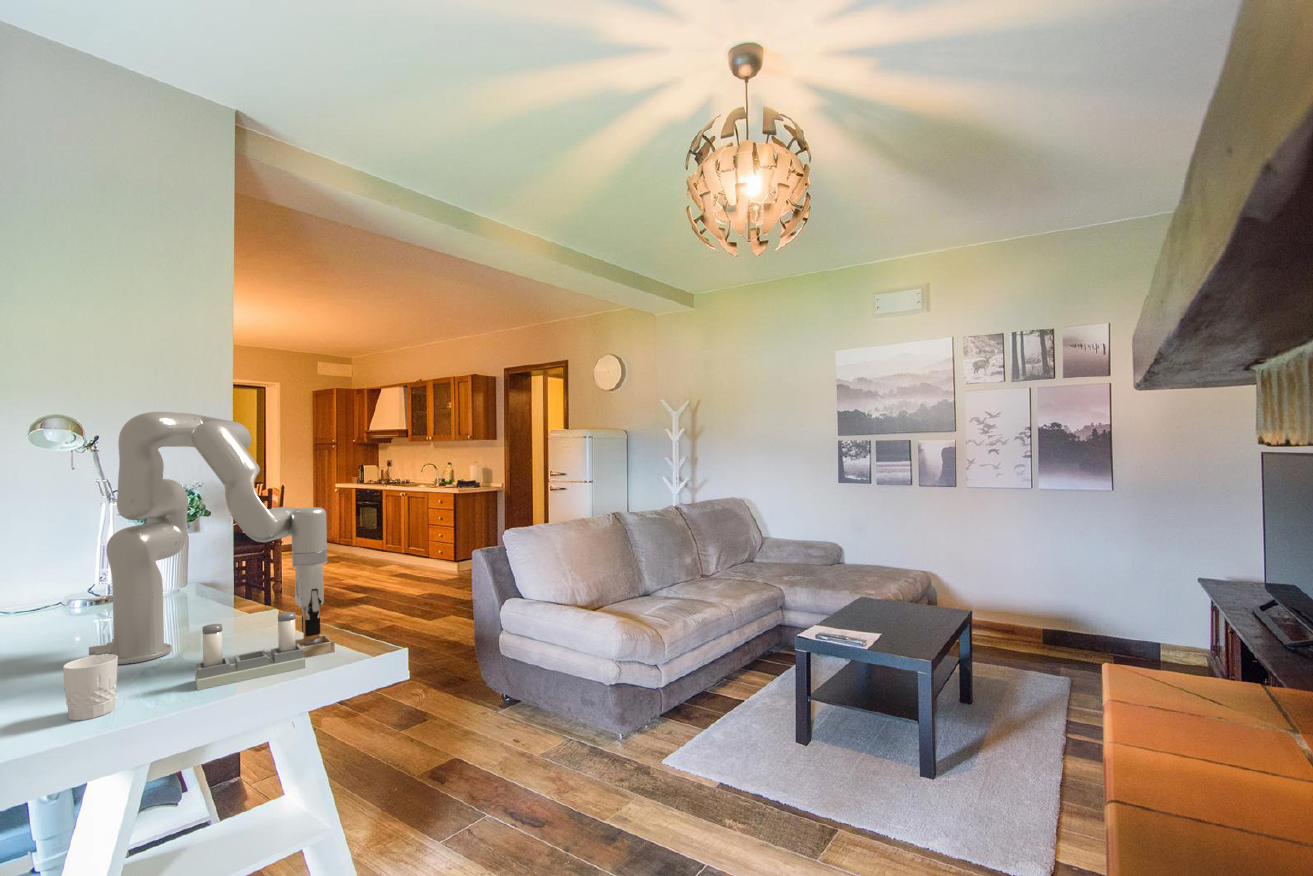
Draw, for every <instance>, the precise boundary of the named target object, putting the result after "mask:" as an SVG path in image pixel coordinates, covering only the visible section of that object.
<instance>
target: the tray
mask: <svg viewBox="0 0 1313 876" xmlns="http://www.w3.org/2000/svg"><path fill="white" fill-rule="evenodd" d="M319 638H320V643H319V644H316V645H311V646H304V645H303V640H304V637H303V638H298V639H296V644H299V645H300V646H301V647H302V648H303V657H304V658H305V659H306V658H309V657H314V656H320V655H324V654H329V653H335V640H333V639H332V638H331V636H329V635H328V634H327V633H324V634H319Z"/></svg>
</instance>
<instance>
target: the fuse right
mask: <svg viewBox="0 0 1313 876" xmlns="http://www.w3.org/2000/svg"><path fill="white" fill-rule="evenodd" d="M277 634H278V637H277V639H278V642H277V643H278V647H279V653H284V652H289V651H294V650H296V640H297V639H296V637H297V636H296V635H297V634H296V612H295V611H288V612H287V611H286V612H281V613H278V614H277Z"/></svg>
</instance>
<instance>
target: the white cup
mask: <svg viewBox="0 0 1313 876" xmlns="http://www.w3.org/2000/svg"><path fill="white" fill-rule="evenodd" d="M118 666H119V664H118V656H117V655H111V654H102V655H96V656H95V655H89V656H86V657H85V656H84V657H82V658H78V659H74V660H71V661H69V662H67V663H65V664H64V665H63V667H62V670H63V681H64V684H63V685H64V691H65V699H66V701H65V702H66V704H65V705H66V706H67V715H68V716H67V717H68V720H70V721H86V720H91V719H95V718H96V719H97V718H98V717H99V718H100V717H103V716H105V715H108V714H110V713H111V712H113V711H114V710H115V708H116V694H117V685H118V684H117V683H118Z"/></svg>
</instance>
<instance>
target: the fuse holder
mask: <svg viewBox="0 0 1313 876" xmlns="http://www.w3.org/2000/svg"><path fill="white" fill-rule="evenodd" d="M270 652H271V653H270V655H271V656H268V654H267V653H266V651H265V649H263V650H262V649H261V650H258V651H257V650H256V651H253V652H247V653H241V654H236V655H235V656H234V663H230V660H229V658H228V656H225V657H223V664H222V665H217V666H211V667H206V668H203V661H200V662H196V663H195V667H196V671H194V679H195V685H196V689H197V691H201V690H205V689H209V688H214V687H219V686H224V685H229V684H233V683H239V682H244V681H248V680H253V679H258V678H263V677H267V676H272V675H277V674H281V673H286V672H287V673H288V672H290V671H296V670H301V669H305V668H306V658H304V657H303V648H302V647H301V646H300V645H299V644H296V650H294V651H289V652H284V653H279V646H278V647H273V648H271V649H270Z"/></svg>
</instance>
